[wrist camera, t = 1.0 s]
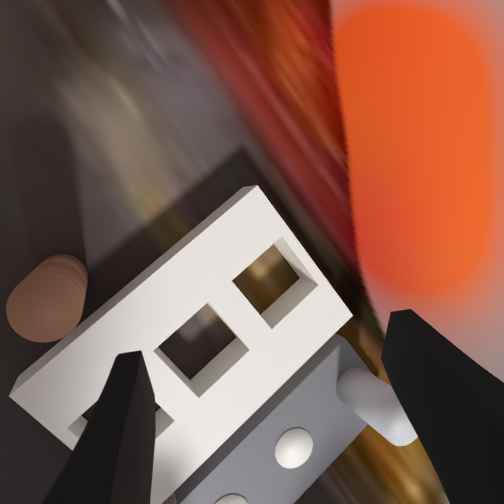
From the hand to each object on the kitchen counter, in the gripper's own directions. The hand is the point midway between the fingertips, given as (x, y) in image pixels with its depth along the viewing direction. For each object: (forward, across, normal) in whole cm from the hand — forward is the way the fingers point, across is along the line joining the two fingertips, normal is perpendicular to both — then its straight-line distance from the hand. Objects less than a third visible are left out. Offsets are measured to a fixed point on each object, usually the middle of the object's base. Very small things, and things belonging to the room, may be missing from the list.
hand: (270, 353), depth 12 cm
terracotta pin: (+11, +9, +4) cm, 15 cm away
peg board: (+10, +3, +9) cm, 14 cm away
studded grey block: (+7, -2, +17) cm, 18 cm away
